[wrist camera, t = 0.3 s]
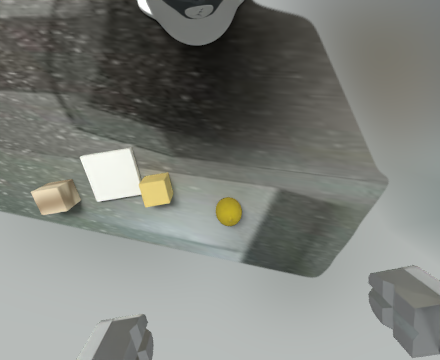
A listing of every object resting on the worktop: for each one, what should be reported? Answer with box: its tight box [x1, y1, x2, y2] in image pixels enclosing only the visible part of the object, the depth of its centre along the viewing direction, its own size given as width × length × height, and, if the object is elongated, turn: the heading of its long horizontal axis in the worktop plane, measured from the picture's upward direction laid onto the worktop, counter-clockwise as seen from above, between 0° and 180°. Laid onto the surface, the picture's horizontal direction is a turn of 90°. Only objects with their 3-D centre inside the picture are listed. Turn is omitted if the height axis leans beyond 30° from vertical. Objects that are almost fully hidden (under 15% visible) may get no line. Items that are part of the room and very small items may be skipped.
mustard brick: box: [138, 173, 173, 207], centre depth 44 cm, size 5×5×5 cm
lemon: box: [216, 197, 242, 226], centre depth 45 cm, size 6×6×8 cm
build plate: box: [80, 148, 141, 202], centre depth 45 cm, size 10×10×1 cm
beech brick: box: [31, 179, 81, 215], centre depth 44 cm, size 5×5×5 cm
